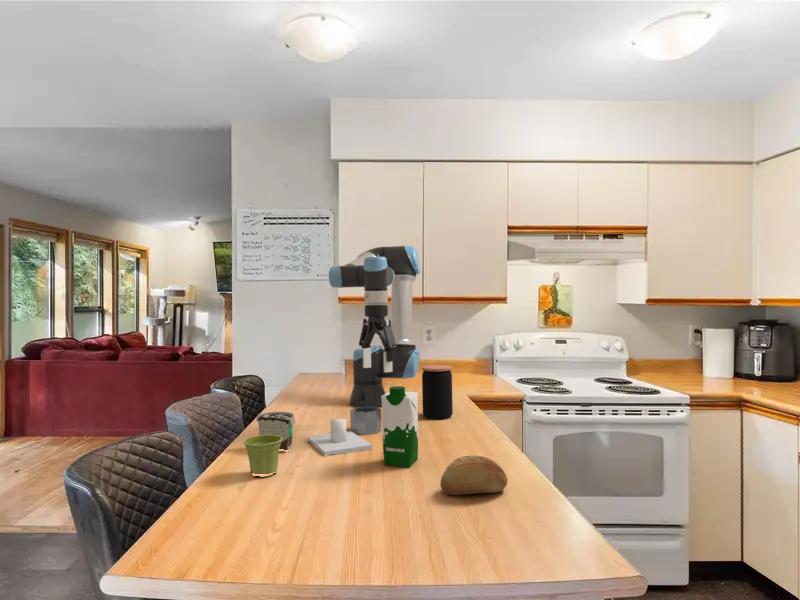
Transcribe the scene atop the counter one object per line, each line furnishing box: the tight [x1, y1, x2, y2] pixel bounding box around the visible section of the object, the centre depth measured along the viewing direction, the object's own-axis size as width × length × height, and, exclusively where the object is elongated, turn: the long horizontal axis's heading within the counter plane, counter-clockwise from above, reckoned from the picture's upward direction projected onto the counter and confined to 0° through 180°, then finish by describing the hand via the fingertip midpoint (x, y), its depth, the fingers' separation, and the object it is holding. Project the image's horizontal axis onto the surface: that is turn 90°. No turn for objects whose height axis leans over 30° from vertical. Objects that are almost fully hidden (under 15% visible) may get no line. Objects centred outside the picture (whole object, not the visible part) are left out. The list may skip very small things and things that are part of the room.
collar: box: [349, 406, 382, 436], centre depth 174 cm, size 9×9×7 cm
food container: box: [256, 411, 296, 450], centre depth 156 cm, size 12×6×10 cm, turn 65°
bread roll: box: [440, 455, 508, 496], centre depth 118 cm, size 10×15×8 cm, turn 97°
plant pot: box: [243, 434, 282, 474], centre depth 133 cm, size 9×9×9 cm
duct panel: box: [306, 418, 373, 456], centre depth 158 cm, size 18×14×7 cm
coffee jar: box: [421, 364, 454, 421], centre depth 192 cm, size 11×11×18 cm
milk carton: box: [381, 385, 419, 468], centre depth 140 cm, size 9×9×20 cm
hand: (377, 369), depth 174 cm, fingers open, 13 cm apart
